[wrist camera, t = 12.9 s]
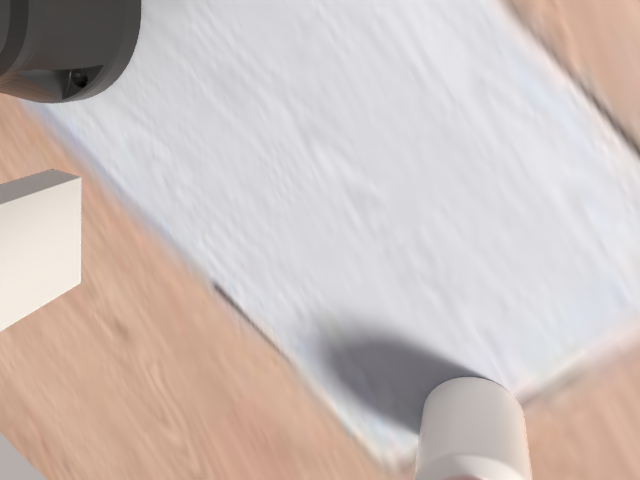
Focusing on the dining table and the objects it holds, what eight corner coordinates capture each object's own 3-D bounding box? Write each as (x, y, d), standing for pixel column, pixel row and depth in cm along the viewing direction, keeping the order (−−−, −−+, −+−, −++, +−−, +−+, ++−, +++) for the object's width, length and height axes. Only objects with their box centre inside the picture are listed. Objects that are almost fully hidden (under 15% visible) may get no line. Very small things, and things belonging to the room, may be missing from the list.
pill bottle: (543, 402, 40) (565, 522, 30) (498, 472, 43) (504, 602, 33) (445, 360, 41) (436, 463, 31) (408, 432, 44) (389, 546, 34)
